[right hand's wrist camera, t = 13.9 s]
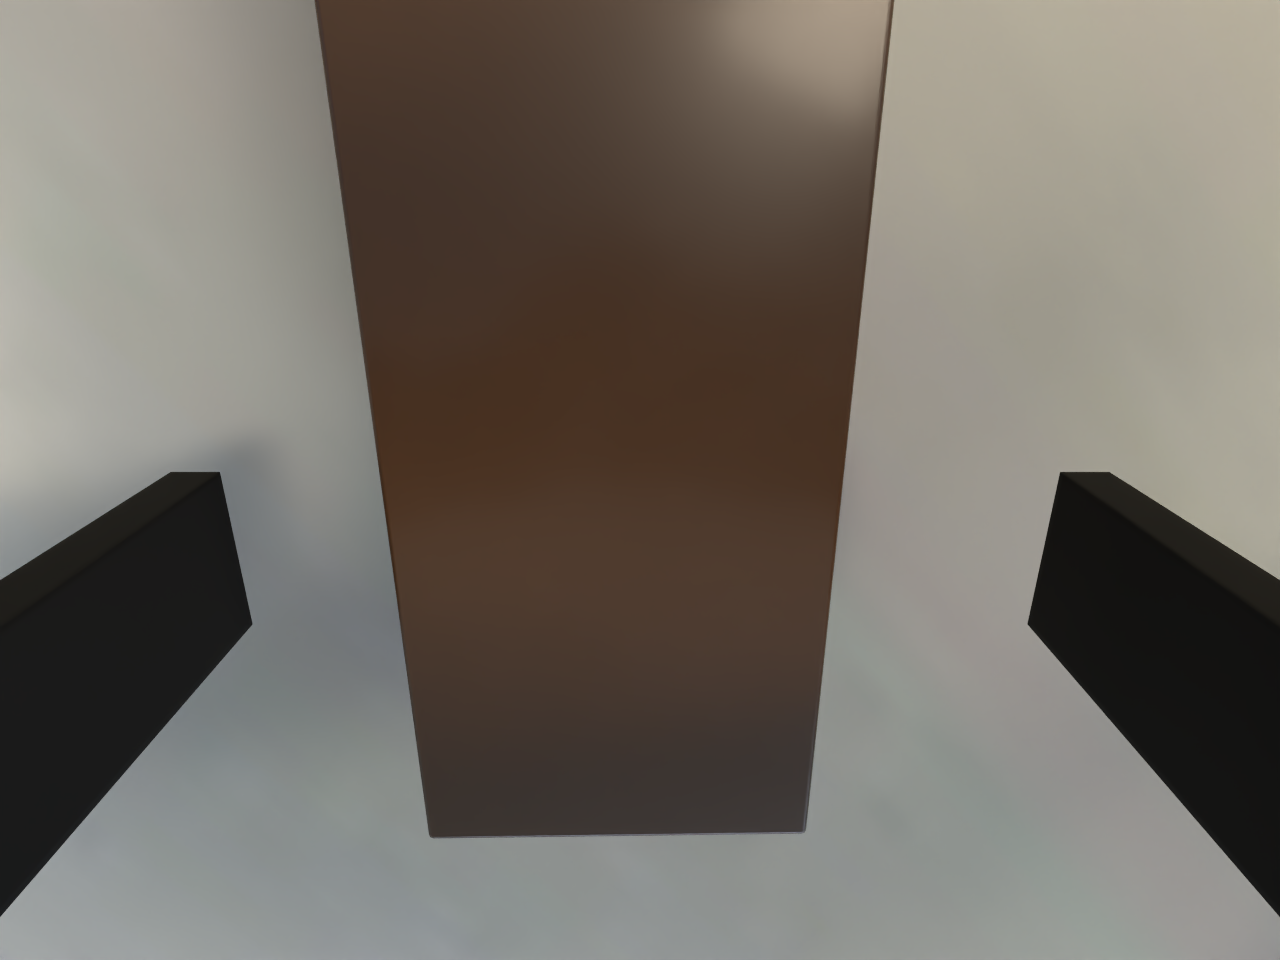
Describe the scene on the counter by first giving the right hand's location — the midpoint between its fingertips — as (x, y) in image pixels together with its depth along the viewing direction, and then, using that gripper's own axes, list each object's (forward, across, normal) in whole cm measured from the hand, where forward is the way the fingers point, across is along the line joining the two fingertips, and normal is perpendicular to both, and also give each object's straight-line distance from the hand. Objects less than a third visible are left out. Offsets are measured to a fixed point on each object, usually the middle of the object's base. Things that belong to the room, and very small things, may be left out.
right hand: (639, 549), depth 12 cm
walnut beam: (+4, 0, -12) cm, 13 cm away
